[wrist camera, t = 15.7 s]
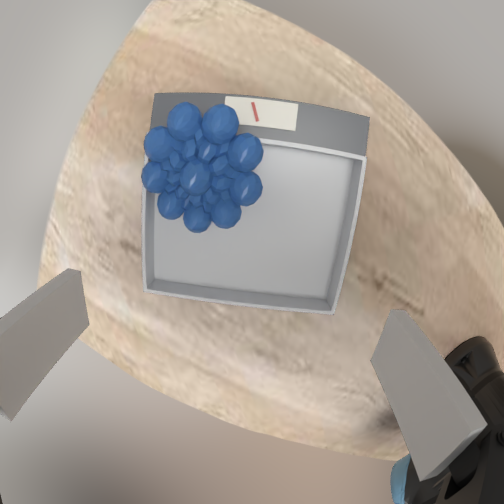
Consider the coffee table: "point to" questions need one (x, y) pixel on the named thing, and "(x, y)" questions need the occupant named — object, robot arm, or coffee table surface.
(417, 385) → the robot arm
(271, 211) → the scale
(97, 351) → the coffee table surface
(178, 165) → the grapes
